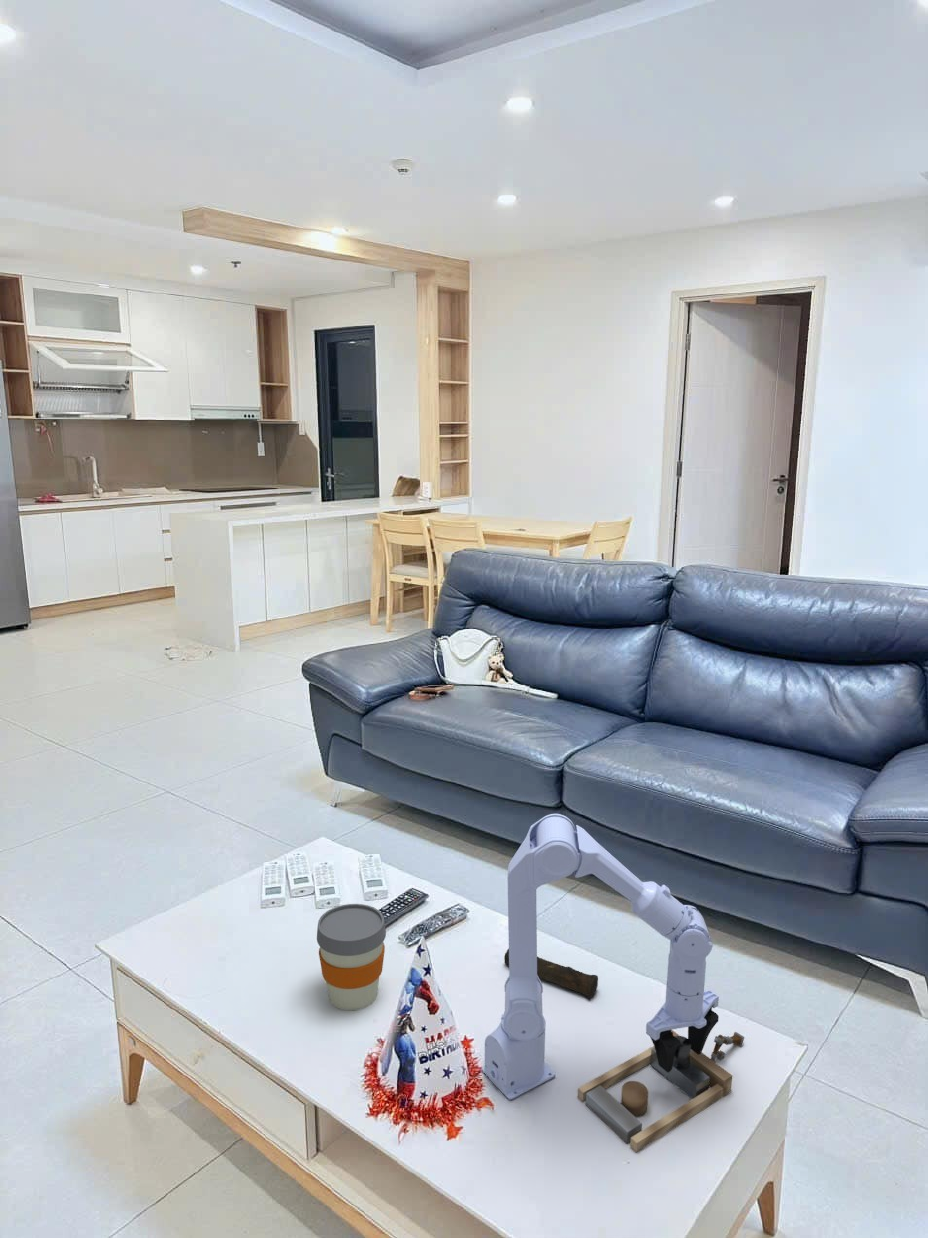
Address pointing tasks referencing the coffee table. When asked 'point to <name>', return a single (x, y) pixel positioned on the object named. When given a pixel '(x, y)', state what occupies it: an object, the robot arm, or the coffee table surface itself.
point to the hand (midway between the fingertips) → (680, 1058)
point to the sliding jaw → (683, 1070)
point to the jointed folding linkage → (728, 1040)
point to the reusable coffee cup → (351, 954)
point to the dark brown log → (564, 976)
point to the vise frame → (632, 1127)
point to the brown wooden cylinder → (635, 1098)
